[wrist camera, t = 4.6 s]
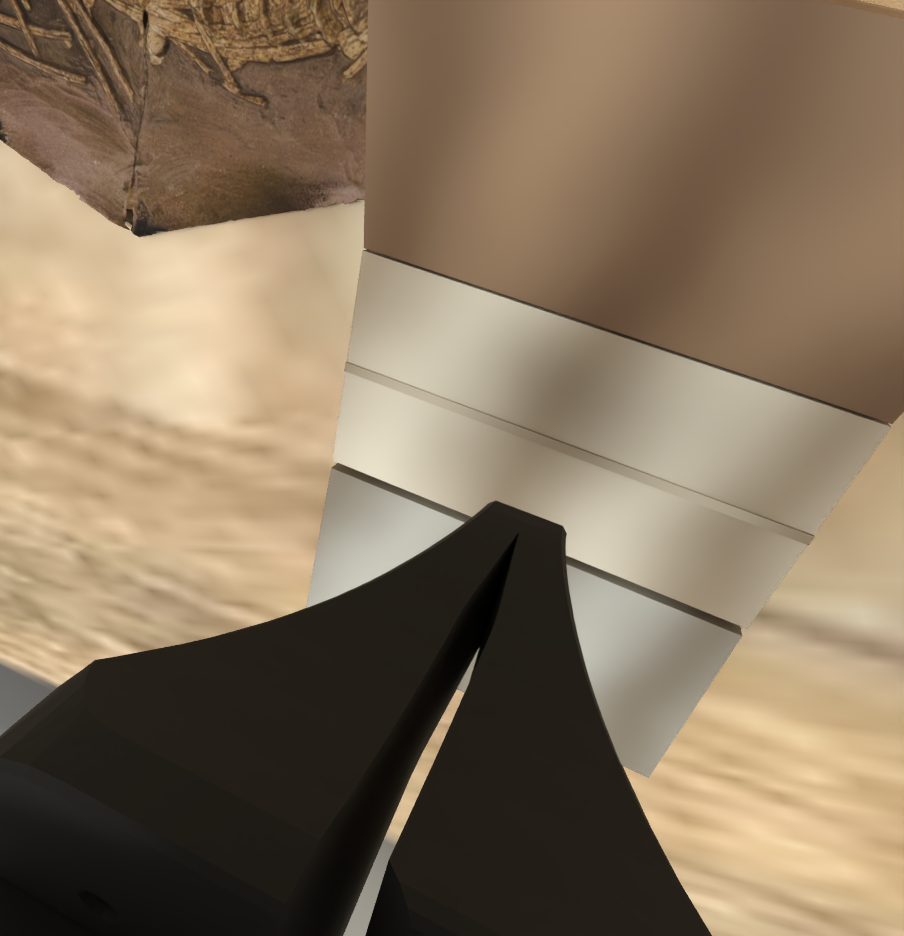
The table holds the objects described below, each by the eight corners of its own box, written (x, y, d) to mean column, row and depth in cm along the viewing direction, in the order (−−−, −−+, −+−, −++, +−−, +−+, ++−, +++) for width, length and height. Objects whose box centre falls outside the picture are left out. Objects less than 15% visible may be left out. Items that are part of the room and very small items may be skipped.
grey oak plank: (737, 612, 19) (742, 636, 18) (649, 750, 22) (648, 777, 21) (347, 455, 21) (331, 468, 20) (319, 600, 25) (304, 618, 23)
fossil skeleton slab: (542, -100, 13) (532, -119, 12) (414, 350, 19) (401, 360, 18) (-300, -363, 17) (-356, -391, 16) (-187, 84, 23) (-223, 81, 22)
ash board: (877, 408, 15) (891, 428, 14) (744, 603, 19) (747, 630, 18) (381, 244, 17) (361, 250, 16) (349, 445, 21) (331, 461, 20)
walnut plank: (383, 231, 17) (363, 247, 16) (397, -100, 12) (370, -98, 11) (886, 394, 15) (892, 423, 14) (1171, 69, 10) (1205, 85, 9)
